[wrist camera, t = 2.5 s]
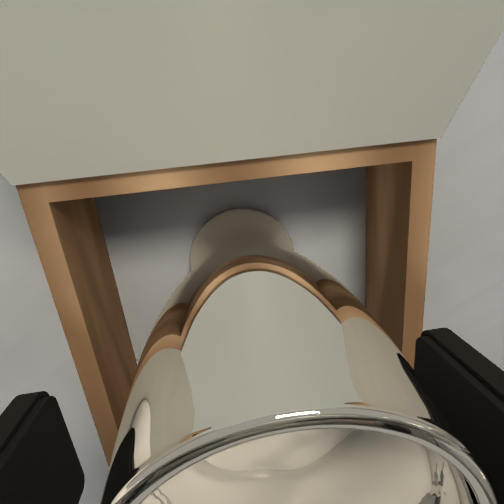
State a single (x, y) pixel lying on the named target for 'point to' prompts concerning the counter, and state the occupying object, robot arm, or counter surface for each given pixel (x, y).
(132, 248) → the counter surface
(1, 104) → the propped lid
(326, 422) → the beer glass
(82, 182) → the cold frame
